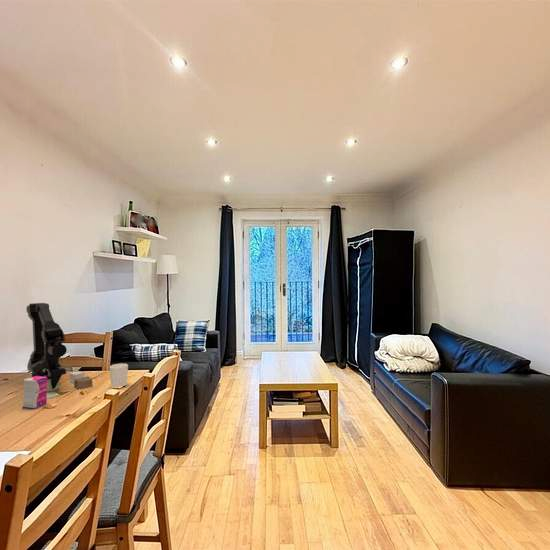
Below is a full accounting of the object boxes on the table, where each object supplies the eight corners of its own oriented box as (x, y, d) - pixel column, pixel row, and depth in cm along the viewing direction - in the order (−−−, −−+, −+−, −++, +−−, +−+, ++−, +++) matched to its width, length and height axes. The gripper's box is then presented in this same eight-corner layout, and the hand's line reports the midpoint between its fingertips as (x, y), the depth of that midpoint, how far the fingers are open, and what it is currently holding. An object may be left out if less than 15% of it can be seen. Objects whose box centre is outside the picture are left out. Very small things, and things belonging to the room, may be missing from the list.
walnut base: (74, 387, 157) (74, 378, 157) (88, 384, 162) (88, 376, 162) (78, 390, 153) (78, 381, 153) (92, 387, 158) (92, 378, 158)
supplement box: (34, 409, 130) (34, 380, 130) (22, 408, 131) (22, 379, 132) (47, 404, 136) (47, 376, 136) (35, 403, 137) (35, 375, 137)
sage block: (44, 389, 153) (44, 380, 153) (55, 387, 157) (55, 377, 157) (47, 392, 150) (47, 382, 151) (58, 389, 154) (58, 379, 154)
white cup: (131, 384, 160) (131, 364, 160) (119, 390, 153) (119, 368, 153) (118, 383, 163) (118, 363, 163) (105, 388, 155) (105, 367, 155)
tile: (36, 396, 144) (36, 395, 144) (54, 392, 150) (54, 391, 150) (41, 400, 140) (41, 399, 140) (59, 395, 145) (59, 395, 145)
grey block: (69, 382, 164) (69, 373, 164) (78, 380, 168) (78, 371, 168) (75, 383, 162) (75, 374, 162) (84, 381, 167) (84, 372, 167)
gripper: (25, 354, 154) (25, 387, 153) (37, 360, 142) (37, 396, 141) (52, 350, 162) (52, 381, 162) (66, 355, 150) (66, 389, 150)
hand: (51, 387), depth 154 cm, fingers closed on sage block, 4 cm apart
